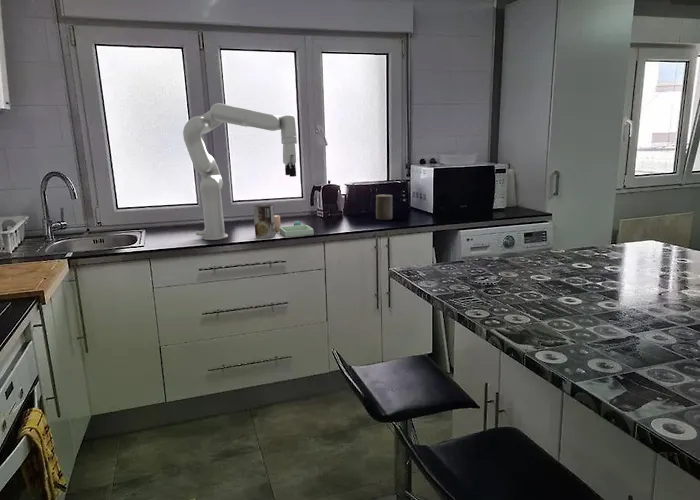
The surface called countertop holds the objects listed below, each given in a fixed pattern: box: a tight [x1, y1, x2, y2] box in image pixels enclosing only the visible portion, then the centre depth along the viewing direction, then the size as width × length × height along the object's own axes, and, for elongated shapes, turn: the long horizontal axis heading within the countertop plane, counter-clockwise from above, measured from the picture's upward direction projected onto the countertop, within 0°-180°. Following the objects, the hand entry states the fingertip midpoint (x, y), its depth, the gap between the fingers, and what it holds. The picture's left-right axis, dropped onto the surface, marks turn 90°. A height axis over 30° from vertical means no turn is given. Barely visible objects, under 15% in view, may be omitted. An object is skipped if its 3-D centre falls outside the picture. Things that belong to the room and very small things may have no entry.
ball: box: [293, 220, 302, 226], centre depth 278 cm, size 4×4×4 cm
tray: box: [279, 224, 315, 239], centre depth 263 cm, size 15×15×3 cm
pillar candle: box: [375, 194, 393, 221], centre depth 299 cm, size 10×10×15 cm
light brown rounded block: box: [274, 214, 282, 233], centre depth 272 cm, size 7×7×8 cm
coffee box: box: [252, 203, 276, 239], centre depth 256 cm, size 9×6×16 cm
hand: (290, 175), depth 256 cm, fingers open, 9 cm apart
